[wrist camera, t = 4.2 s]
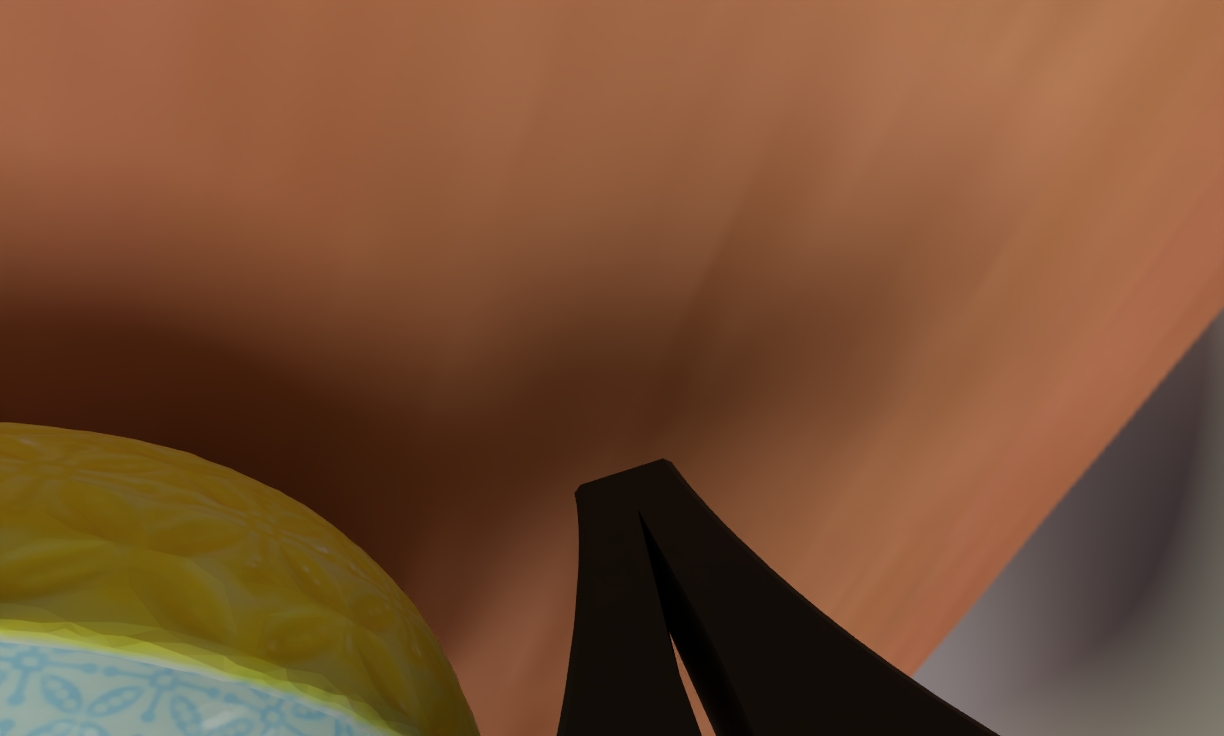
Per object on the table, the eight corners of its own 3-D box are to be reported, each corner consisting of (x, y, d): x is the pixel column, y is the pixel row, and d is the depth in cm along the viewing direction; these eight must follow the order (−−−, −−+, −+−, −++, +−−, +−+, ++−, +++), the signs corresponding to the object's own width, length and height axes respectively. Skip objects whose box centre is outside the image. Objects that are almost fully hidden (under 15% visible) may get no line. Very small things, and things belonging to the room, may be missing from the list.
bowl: (-117, 17, 8) (-1217, 220, 2) (595, 492, 14) (700, 831, 9) (-504, 624, 10) (-1440, 1340, 5) (243, 796, 16) (164, 1198, 11)
